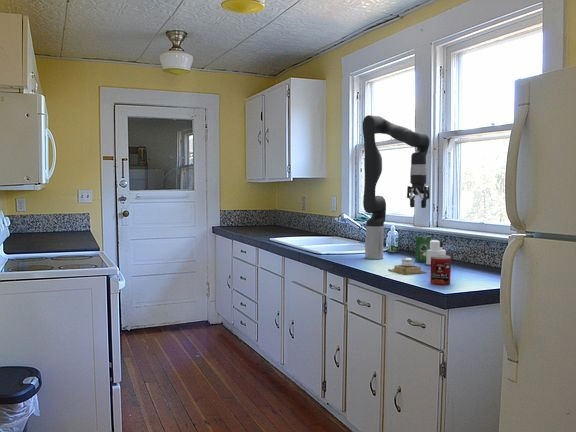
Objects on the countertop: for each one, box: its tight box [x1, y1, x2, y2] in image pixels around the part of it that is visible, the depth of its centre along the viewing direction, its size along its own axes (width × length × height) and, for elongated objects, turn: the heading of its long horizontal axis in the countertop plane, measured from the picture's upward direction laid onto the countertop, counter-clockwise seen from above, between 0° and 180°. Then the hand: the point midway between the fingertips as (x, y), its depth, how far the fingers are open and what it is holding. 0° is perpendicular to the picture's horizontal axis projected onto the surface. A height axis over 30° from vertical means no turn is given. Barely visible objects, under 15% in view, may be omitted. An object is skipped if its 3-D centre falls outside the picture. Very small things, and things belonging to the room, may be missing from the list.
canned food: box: [429, 255, 452, 286], centre depth 210 cm, size 8×8×11 cm
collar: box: [388, 264, 428, 276], centre depth 237 cm, size 12×12×3 cm
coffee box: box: [414, 235, 432, 263], centre depth 269 cm, size 8×3×13 cm, turn 117°
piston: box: [401, 257, 414, 268], centre depth 237 cm, size 5×5×5 cm
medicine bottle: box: [425, 239, 447, 266], centre depth 260 cm, size 7×7×12 cm
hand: (417, 207), depth 256 cm, fingers open, 8 cm apart
